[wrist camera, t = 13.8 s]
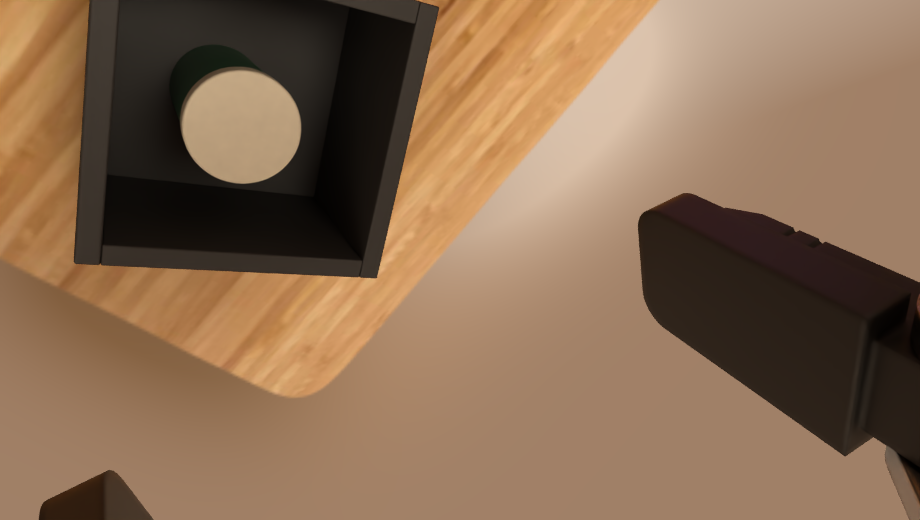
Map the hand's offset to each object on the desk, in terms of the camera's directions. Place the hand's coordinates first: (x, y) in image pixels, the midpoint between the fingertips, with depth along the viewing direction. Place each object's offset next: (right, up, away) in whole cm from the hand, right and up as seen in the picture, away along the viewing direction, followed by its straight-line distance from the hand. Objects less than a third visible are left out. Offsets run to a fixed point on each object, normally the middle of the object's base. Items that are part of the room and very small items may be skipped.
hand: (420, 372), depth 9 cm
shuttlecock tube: (-10, +9, +20) cm, 24 cm away
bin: (-10, +10, +21) cm, 25 cm away
